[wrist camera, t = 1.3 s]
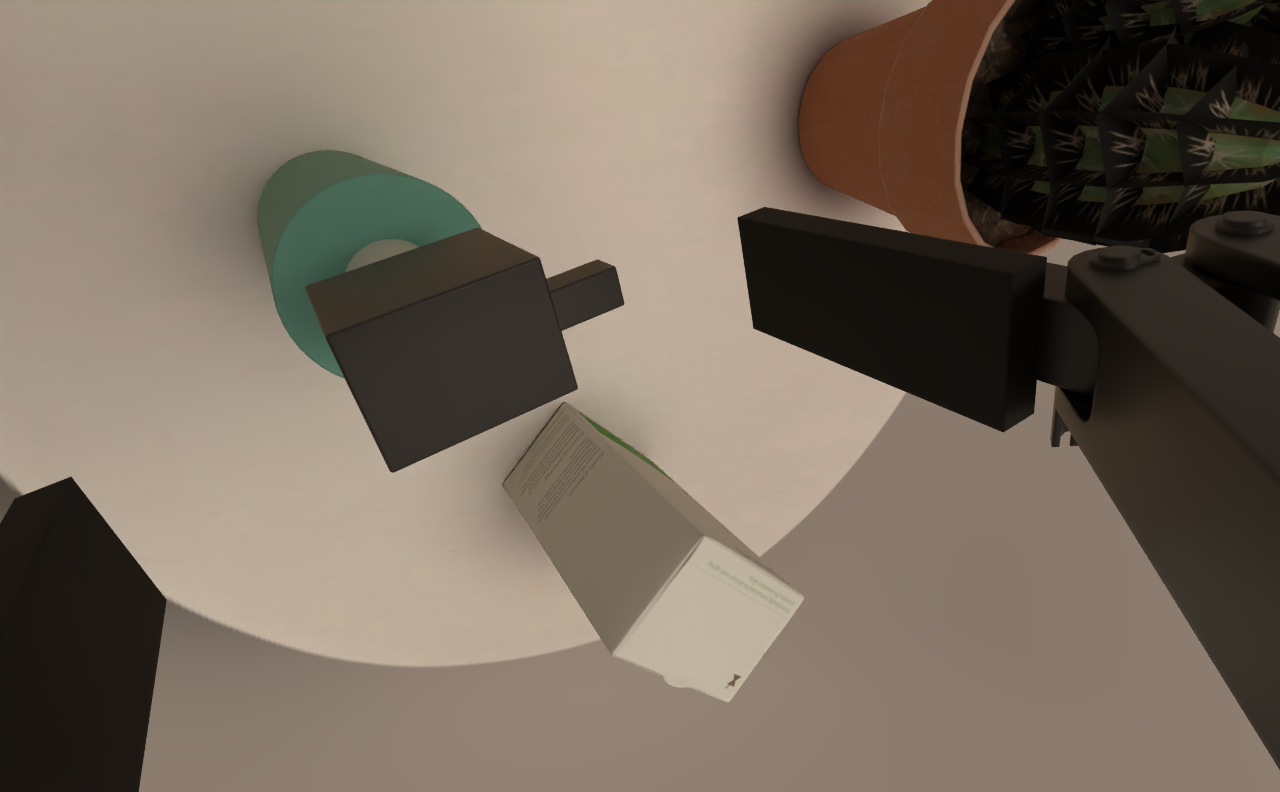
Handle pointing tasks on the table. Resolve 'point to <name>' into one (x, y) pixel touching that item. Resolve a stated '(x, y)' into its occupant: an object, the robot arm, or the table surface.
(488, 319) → the spray bottle
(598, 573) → the cosmetic box
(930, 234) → the potted plant
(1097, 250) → the robot arm
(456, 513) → the table surface
